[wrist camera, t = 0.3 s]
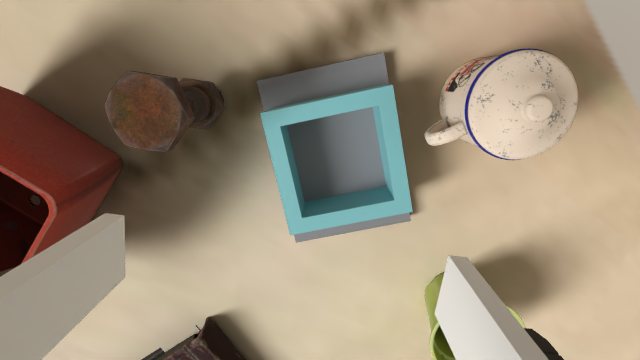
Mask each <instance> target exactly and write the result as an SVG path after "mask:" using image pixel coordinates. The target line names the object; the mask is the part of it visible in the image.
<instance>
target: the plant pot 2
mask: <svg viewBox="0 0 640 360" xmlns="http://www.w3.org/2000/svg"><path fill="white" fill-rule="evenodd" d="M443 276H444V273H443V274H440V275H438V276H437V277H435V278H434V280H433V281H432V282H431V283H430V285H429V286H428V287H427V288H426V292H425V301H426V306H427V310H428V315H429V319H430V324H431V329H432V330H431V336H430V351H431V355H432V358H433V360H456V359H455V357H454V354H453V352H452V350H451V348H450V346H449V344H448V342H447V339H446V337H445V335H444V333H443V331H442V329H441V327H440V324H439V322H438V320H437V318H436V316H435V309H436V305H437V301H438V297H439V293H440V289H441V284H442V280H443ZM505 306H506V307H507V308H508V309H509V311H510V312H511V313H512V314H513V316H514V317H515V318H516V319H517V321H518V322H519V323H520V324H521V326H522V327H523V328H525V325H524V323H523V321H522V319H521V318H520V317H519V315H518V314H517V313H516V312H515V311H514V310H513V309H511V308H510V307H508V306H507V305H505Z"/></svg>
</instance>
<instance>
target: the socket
mask: <svg viewBox="0 0 640 360" xmlns="http://www.w3.org/2000/svg"><path fill="white" fill-rule="evenodd" d="M256 82H257V86H258V90H259V94H260V98H261V102H262V106H263V110H264V112H262V113H260V116H261V120H262V124H263V128H264V132H265V136H266V140H267V144H268V148H269V152H270V156H271V160H272V164H273V168H274V172H275V176H276V180H277V184H278V188H279V192H280V196H281V200H282V204H283V208H284V212H285V216H286V220H287V224H288V228H289V232H290V235H294V236H295V240H296V242H301V241H307V240H312V239H317V238H322V237H328V236H333V235H338V234H344V233H349V232H354V231H359V230H365V229H370V228H375V227H380V226H386V225H391V224H396V223H401V222H407V221H411V219H410V213H409V212H413V211H412V204H411V198H410V191H409V185H408V179H407V172H406V166H405V159H404V153H403V147H402V140H401V134H400V127H399V121H398V114H397V108H396V102H395V95H394V89H393V85H389V80H388V74H387V68H386V61H385V55H384V53H380V54H375V55H371V56H366V57H362V58H357V59H353V60H348V61H344V62H339V63H334V64H330V65H325V66H321V67H316V68H312V69H307V70H303V71H298V72H294V73H289V74H285V75H280V76H276V77H271V78H267V79H262V80H258V81H256Z"/></svg>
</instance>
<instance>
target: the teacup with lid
mask: <svg viewBox="0 0 640 360" xmlns="http://www.w3.org/2000/svg"><path fill="white" fill-rule="evenodd" d="M577 106H578V90H577V85H576V81H575V79H574V76H573V74H572V72H571V71H570V69H569V68H568V67H567V66H566V64H565V63H563V62H562V61H561V60H560V59H559V58H557V57H556V56H554V55H552V54H550V53H548V52H546V51H542V50H538V49H518V50H514V51H510V52H507V53H505V54H503V55H499V56H493V57H486V58H480V59H475V60H472V61H469V62H467V63H465V64H463V65H461V66H460V67H459V68H457V69H456V70H455V71H454V72H453V73H452V74H451V75H450V76H449V78H448V79H447V81H446V82H445V84H444V86H443V88H442V91H441V95H440V100H439V110H440V115H441V118H442V120H440V121H438V122H436V123H435V124H433V125H432V126H430V127H429V128H428V129H427V130H426V132H425V135H424V136H425V139H426V141H427V143H428V144H429V145H432V146H437V145H442V144H446V143H449V142H451V141H454V140H456V139H458V138H459V139H461V140H464V141H466V142H468V143H471V144H473V145H475V146H478V147H480V148H481V149H482V150H483V151H485V152H486V153H488V154H490V155H492V156H494V157H497V158H500V159H505V160H521V159H526V158H530V157H534V156H536V155H539V154H541V153H543V152H545V151H547V150H548V149H550V148H551V147H553V146H554V145H555V144H556V143H557V142H558V141H559V140H560V139H561V138H562V137H563V136H564V135H565V134H566V132H567V131H568V129H569V128H570V126H571V124H572V122H573V120H574V117H575V114H576V111H577Z"/></svg>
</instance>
